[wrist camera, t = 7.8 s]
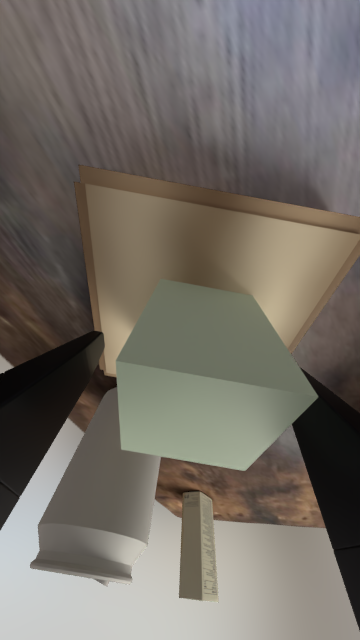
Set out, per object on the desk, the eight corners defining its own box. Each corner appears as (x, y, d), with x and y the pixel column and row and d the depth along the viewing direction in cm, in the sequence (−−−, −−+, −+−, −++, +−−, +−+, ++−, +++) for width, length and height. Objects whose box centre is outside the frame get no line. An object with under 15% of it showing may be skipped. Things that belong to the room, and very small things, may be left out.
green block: (252, 295, 9) (319, 396, 4) (225, 360, 12) (244, 470, 7) (160, 278, 9) (115, 360, 4) (153, 348, 12) (121, 449, 7)
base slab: (337, 218, 10) (387, 221, 7) (249, 375, 17) (258, 404, 14) (102, 175, 9) (68, 162, 7) (114, 351, 17) (99, 376, 14)
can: (104, 373, 19) (-9, 568, 8) (172, 386, 19) (143, 593, 9) (108, 411, 23) (36, 574, 12) (164, 421, 23) (138, 590, 13)
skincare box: (182, 491, 37) (176, 597, 27) (200, 490, 36) (202, 601, 26) (196, 500, 40) (195, 600, 30) (213, 499, 39) (219, 604, 28)
